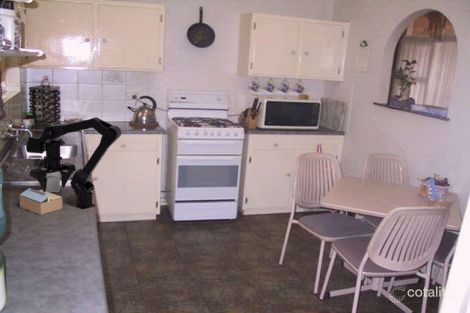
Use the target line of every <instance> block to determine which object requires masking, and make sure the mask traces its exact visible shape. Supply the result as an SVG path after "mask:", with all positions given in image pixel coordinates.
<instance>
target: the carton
mask: <svg viewBox="0 0 470 313" xmlns="http://www.w3.org/2000/svg"><path fill="white" fill-rule="evenodd" d="M38 191H40V192H43V190H42V189H39V190H38ZM43 193H46V194H48V195H50V196H49V197H48V198H47V199H45V200H44V201H43V202H41V203H40V202H37V201H35V200H32V199H29V198H26V197H24V196H21V195H19V208H20V207H21V209H22V208H24V209H23V210H25V209H26V210H25V211H27V210H29V211H28V212H30V211H32V212H31V213H33V212H35V213H38V214H45V213H49V212H52V213H54V212H53V211H56V212H58V211H57V210H59V211H61V210H60V209H62V210H63V198H62V196H60V195H58V194H54V193H53V192H43ZM35 213H34V214H35ZM38 214H37V215H38ZM49 214H50V213H49ZM45 215H46V214H45Z"/></svg>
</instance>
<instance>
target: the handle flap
mask: <svg viewBox="0 0 470 313" xmlns="http://www.w3.org/2000/svg"><path fill="white" fill-rule="evenodd" d="M19 196H24V197H26V198H29V199H32V200H35V201H37V202H40V203H41V202H43V201H44V200H45V199H47V198H48V197H49V196H50V195H48V194H46V193H43V192H40V191H38V190H37V189H35V188H31V187H28V188H27V189H26V190H24V191H23V192H21V193H20V194H19Z"/></svg>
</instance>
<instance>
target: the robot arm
mask: <svg viewBox="0 0 470 313" xmlns="http://www.w3.org/2000/svg"><path fill="white" fill-rule="evenodd" d="M89 129H93V130H94V131H96V132H97V133H98V134H99V135H101V137H100V142H99V144H98V145H97V147H96V148H95V150H94V151H93V153H92V155H91V156H90V158H89V159H88V160H87V161H86V164H85V165H84V167H83V168H79V169H77V168H76V165H75V164H73V163H69V162H66V163H65V162H64V163H61V160H62V161H63V157H62V156H61V146H63V145H66V141H64V140H63V139H62V138H61V137H63V136H64V135H67V134H71V133H74V132H80V131H83V130H89ZM121 136H122V129H121V128H120V127H119V126H117V125H113V124H111V123H109V122H107V121H104V120H102V119H100V118H99V117H98V116H97V117H92V118H89V119H84V120H81V121H75V122H71V123H57V124H56V123H55V124H54V123H53V124H51V125H47V126H46V127H44V129H43V132H42V134H41V136H40V137H37V136H36V137H35V136H29V137H28V140H27V143H26V145H25V149H26V153H29V154H30V153H31V154H44V152H45V156H44V155H43V156H44V157H43V159H40V158H35V159H33V166H34V167H37V168H34V169H33V168H32V169H31V170H30V172H29V177H31V178H33V179H35V180H37V181H38V184H39V185H40V188H41V190H43V192H46V186H47V178H46V176H47V174H49V173H54V172H59V171H60V185H61V188H63V189H64V188H65V187H66V185H67V183H68V180H69V178H70V183H69V184H70V187H71V188H72V189H73V191H74V195H76V199H75V202H76V203H75V204H73V207H76V208H79V209H82V210H85V208H86V209H89V208H92V207H94V206H96V204H95V203H93V192H92V191H93V190H94V188H95V185H94V184H93V182H92V181H91V178H92V174H93V173H94V171H95V169H96V167H98V165H99V163H100V161H101V160H102V159H103V157H104V156H105V154H106V153H107V152H108V150H109V148H110V147H111V146H112V145H113V144H114V143H115V142H117V140H118V139H119V138H120V137H121ZM57 139H58V140H57ZM42 167H43V168H44V169H45V168H46V170H43V169H42ZM72 174H73V176H72V177H71V175H72Z"/></svg>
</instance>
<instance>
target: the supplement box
mask: <svg viewBox="0 0 470 313" xmlns="http://www.w3.org/2000/svg"><path fill="white" fill-rule="evenodd" d="M41 169H43V170H46V168H45V169H44V168H43V167H42V168H41ZM46 178H47V186H46V192H49V193H59V192H60V188H61V173H60V171H59V172H54V173H49V174H47V176H46Z"/></svg>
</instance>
